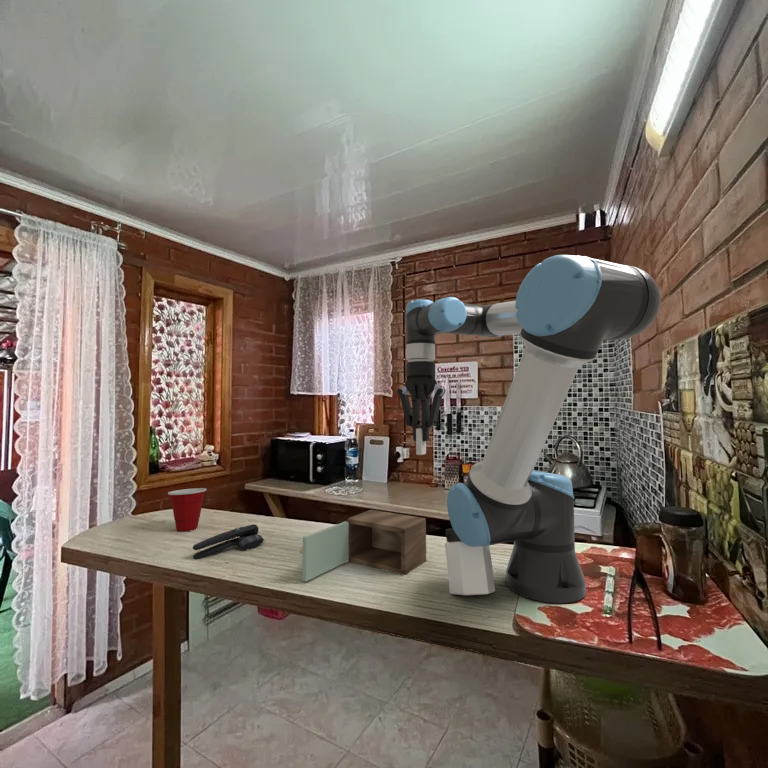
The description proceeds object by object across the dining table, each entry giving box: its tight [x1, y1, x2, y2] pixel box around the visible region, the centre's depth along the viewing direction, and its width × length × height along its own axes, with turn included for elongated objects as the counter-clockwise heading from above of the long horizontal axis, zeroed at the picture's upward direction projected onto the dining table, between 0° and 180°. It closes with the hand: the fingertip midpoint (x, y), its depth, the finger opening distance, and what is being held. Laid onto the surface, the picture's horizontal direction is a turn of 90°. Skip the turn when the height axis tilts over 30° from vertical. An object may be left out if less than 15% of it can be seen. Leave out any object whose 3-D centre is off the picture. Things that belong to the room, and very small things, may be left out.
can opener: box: [192, 523, 265, 560], centre depth 108 cm, size 18×7×6 cm, turn 132°
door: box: [299, 520, 350, 582], centre depth 94 cm, size 14×3×9 cm, turn 146°
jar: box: [444, 527, 496, 596], centre depth 84 cm, size 9×8×12 cm
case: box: [346, 509, 427, 576], centre depth 100 cm, size 16×10×10 cm, turn 57°
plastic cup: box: [167, 487, 208, 532], centre depth 127 cm, size 11×11×12 cm
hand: (421, 454), depth 106 cm, fingers closed
